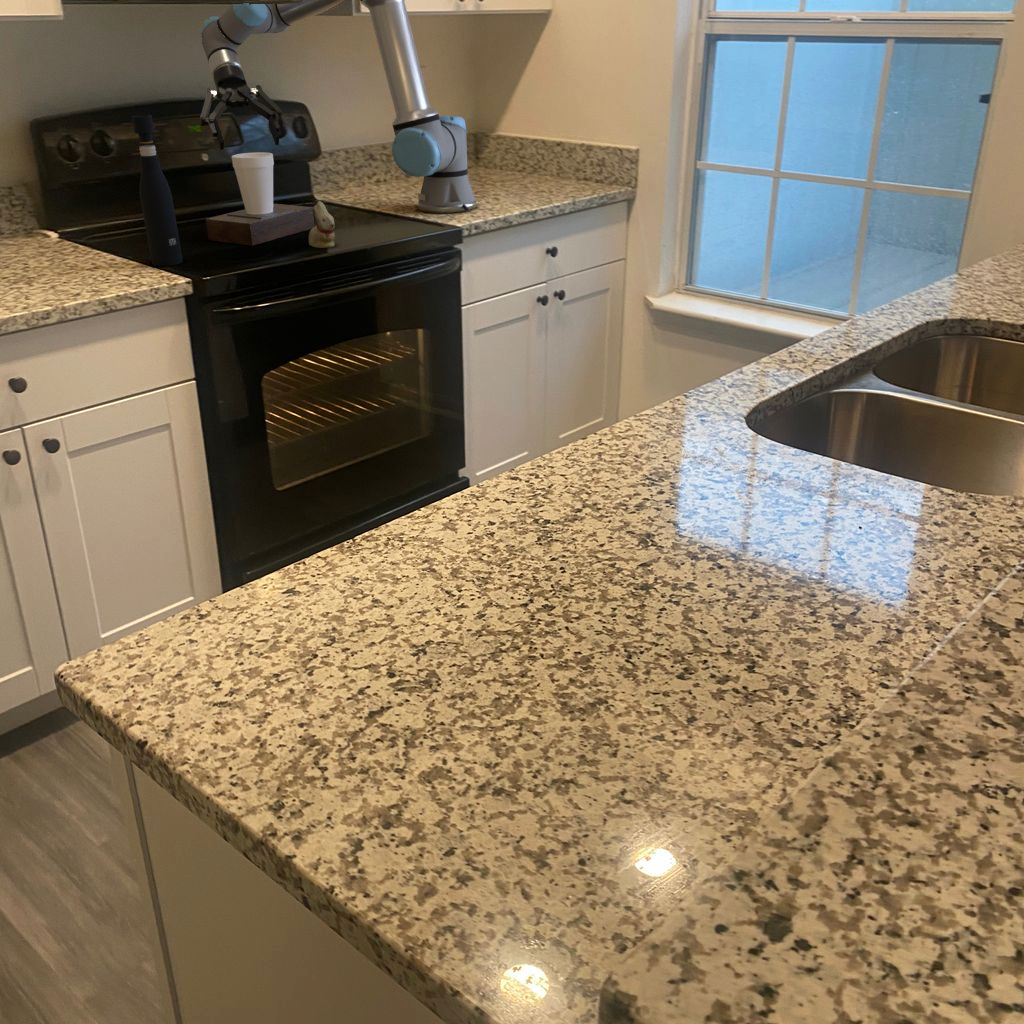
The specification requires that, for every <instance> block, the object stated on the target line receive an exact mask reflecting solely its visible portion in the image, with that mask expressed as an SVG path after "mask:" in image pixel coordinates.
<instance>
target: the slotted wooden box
mask: <svg viewBox="0 0 1024 1024" xmlns="http://www.w3.org/2000/svg"><path fill="white" fill-rule="evenodd" d="M313 208H314V206H303V205H293V204H284V203H283V204H281V203H273V212H271V213H267V214H247V213H246V210H245V208H244V209H241V210H237V211H232V212H228V213H224V214H221V215H220V214H219V215H215V216H212V217H208V218H205V225H206V232H207V237H208V241H211V242H219V243H227V244H236V245H245V246H251V247H252V246H256V245H260V244H263V243H266V242H270V241H274V240H278V239H280V238H281V239H282V238H284V237H288V236H291V235H294V234H299V233H302V232H306V231H310V230H311V229H312V228H313V227H315V226H316V225H315V218H314V217H315V215H314V211H313Z"/></svg>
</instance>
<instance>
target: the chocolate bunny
mask: <svg viewBox="0 0 1024 1024" xmlns="http://www.w3.org/2000/svg"><path fill="white" fill-rule="evenodd" d="M313 216H314V217H315V220H316V225H315V227H313V228H312V229H310V230H309V234H308V245H309V246H310V247H312V248H318V249H329V248H334V247H335V246H336V245H335V241H334V240H335V237H336V235H335V231H334V229H335V227H336V225H335V219H334V217H333V215H332V214H330V213H329V211H328V210H327V207H326V205H325V204H324V203H323V202H322V201H321V200H319V201H317V203H316V204H315V205H314V206H313Z"/></svg>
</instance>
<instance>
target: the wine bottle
mask: <svg viewBox="0 0 1024 1024" xmlns="http://www.w3.org/2000/svg"><path fill="white" fill-rule="evenodd" d="M131 121H132V125H133V131H134V134H138V141H139V144H140V145H139V149H138V150H139V154H140V155H139V156H138V157H139V162H140V168H141V170H140V171H141V172H140V179H139V199H140V206H141V209H142V210H141V211H142V217H143V220H144V227H145V233H146V239H147V244H148V248H149V249H148V250H149V254H150V260H151V265H152V266H155V267H169V266H170V267H171V266H177V265H180V264H182V263H183V262H184V259H183V253H182V248H181V242H180V236H179V229H178V225H177V218H176V212H175V206H174V201H173V195H172V192H171V189H170V185H169V183H168V180H167V178H166V177H165V174H164V173H163V171H162V169H161V164H160V159H159V158H160V157H159V155H158V154H157V151H156V149H157V148H156V145H154V144H153V143H154V140H153V136H152V133H155V127H154V122H153V116H152V115H151V114H139V115H137V114H136V115H132V116H131Z"/></svg>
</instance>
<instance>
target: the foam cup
mask: <svg viewBox="0 0 1024 1024" xmlns="http://www.w3.org/2000/svg"><path fill="white" fill-rule="evenodd" d="M231 163H232V167H233V169H234V173H235V176H236V179H237V183H238V184H237V185H238V187H239V191H240V195H241V199H242V202H243V206H244V209H245V210H246V213H247V214H267V213H271V212H273V204H274V165H275V161H274V154H273V153H271V152H265V151H264V152H263V151H259V152H256V151H255V152H254V151H253V152H244V153H243V152H242V153H237V154H233V155H231Z"/></svg>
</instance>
